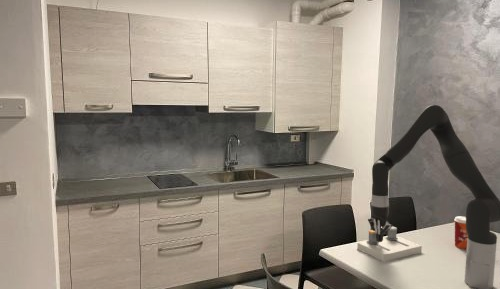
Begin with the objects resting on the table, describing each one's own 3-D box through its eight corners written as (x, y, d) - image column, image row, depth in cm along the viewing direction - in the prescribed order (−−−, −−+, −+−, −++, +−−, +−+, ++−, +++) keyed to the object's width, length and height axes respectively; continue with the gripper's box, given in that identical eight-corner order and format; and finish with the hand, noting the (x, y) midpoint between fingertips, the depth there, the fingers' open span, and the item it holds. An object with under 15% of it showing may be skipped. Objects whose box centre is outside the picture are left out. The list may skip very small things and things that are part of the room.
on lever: (391, 240, 175) (391, 229, 174) (385, 238, 177) (386, 227, 177) (397, 239, 177) (398, 227, 176) (392, 237, 179) (393, 225, 179)
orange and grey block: (371, 244, 170) (372, 232, 169) (366, 242, 172) (367, 230, 172) (378, 242, 171) (379, 231, 171) (373, 240, 174) (374, 229, 174)
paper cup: (461, 250, 172) (463, 221, 170) (448, 244, 179) (450, 216, 178) (474, 248, 174) (477, 220, 172) (461, 242, 181) (463, 215, 180)
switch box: (383, 261, 159) (383, 254, 158) (357, 248, 173) (357, 242, 173) (421, 252, 169) (421, 245, 169) (393, 240, 184) (394, 234, 183)
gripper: (397, 206, 162) (396, 244, 164) (375, 200, 174) (374, 236, 176) (385, 208, 159) (384, 247, 161) (363, 202, 171) (362, 238, 172)
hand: (379, 241), depth 168 cm, fingers closed
